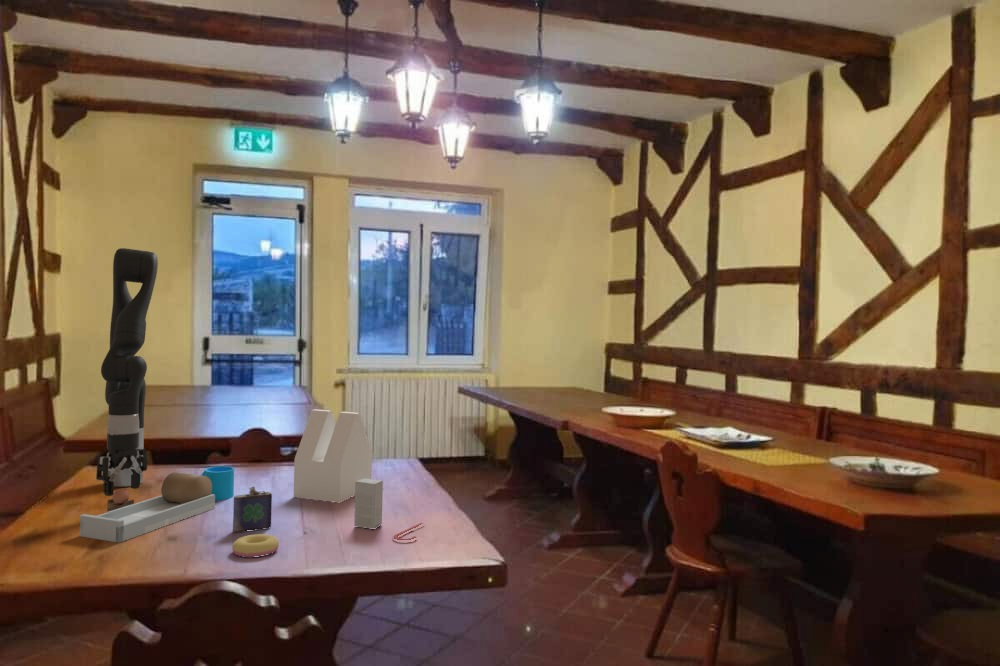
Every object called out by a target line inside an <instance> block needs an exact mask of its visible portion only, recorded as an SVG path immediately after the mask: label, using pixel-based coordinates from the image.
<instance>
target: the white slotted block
mask: <svg viewBox="0 0 1000 666" xmlns="http://www.w3.org/2000/svg"><path fill="white" fill-rule="evenodd" d="M293 462H294V463H293V464H294V467H293V468H294V469H293V498H295V497H297V498H296V499H303V498H305V499H304V500H310V499H313V500H312V501H318V500H325V501H324V502H326V501H335V502H341V501H343V500H345V499H347V498H349V497H351V496H353V495H355V482H356V481H358V480H361V479H363V478H364V479H372V475H373V474H372V471H373V470H372V469H373V465H372V464H373V450H372V448H371V444H370V441H369V438H368V435H367V431H366V428H365V425H364V421H363V419H362V416H361V413H360V412H351V411H350V412H349V411H339V413H338V416H337V420H336V419H335V416H334V412H333V410H328V409H311V412H310V415H309V418H308V420H307V422H306V425H305V429H304V431H303V434H302V436H301V440H300V442H299V445H298V448H297V450H296V453H295V457H294V461H293ZM349 499H350V498H349ZM347 500H348V499H347ZM345 501H346V500H345ZM343 502H344V501H343ZM341 503H342V502H341Z"/></svg>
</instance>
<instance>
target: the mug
mask: <svg viewBox="0 0 1000 666" xmlns="http://www.w3.org/2000/svg"><path fill="white" fill-rule="evenodd" d="M200 475H201V476H207V477H208V478H209V479H210V480H211V483H212V492H211V494H215V502H216V501H226V500H229V498H230V499H232V498H234V497H235V495H234V493H235V492H234V491H235V489H234V487H235V485H234V484H235V468H234V467H233V466H229V465H226V466H225V465H224V466H222V465H219V466H210V467H206V468H205V469H204V470H203V472H202V473H201V474H200ZM225 499H226V500H225Z"/></svg>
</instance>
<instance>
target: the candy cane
mask: <svg viewBox="0 0 1000 666" xmlns="http://www.w3.org/2000/svg"><path fill="white" fill-rule="evenodd" d="M421 524H424V522H420V523H418V524H416V525H414V526H411V527H410V528H407V529H405V530H403V531H401V532H398V533H396V534H394V535H393V536H392V538H393V537H394V539H397V540H411V539H414V538H417V536H415V535H414V536H411V537H409V538H398V536H399V535H401V534H403V533H405V532H407V531H409V530H411V529H413V528H416V527H418V526H419V525H421Z"/></svg>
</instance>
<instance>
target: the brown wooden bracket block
mask: <svg viewBox="0 0 1000 666" xmlns="http://www.w3.org/2000/svg"><path fill="white" fill-rule="evenodd" d="M106 504H107V505H106V506H107V507H106V509H107V510H106V513H107V512H109V511H112V510H115V509H119V508H122V507H125V506H128V505H132V504H135V500H134V499H128V500H127V501H125V502H123V504H118V503H115V502H114V501H113V498H110V499H107V503H106Z"/></svg>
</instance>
